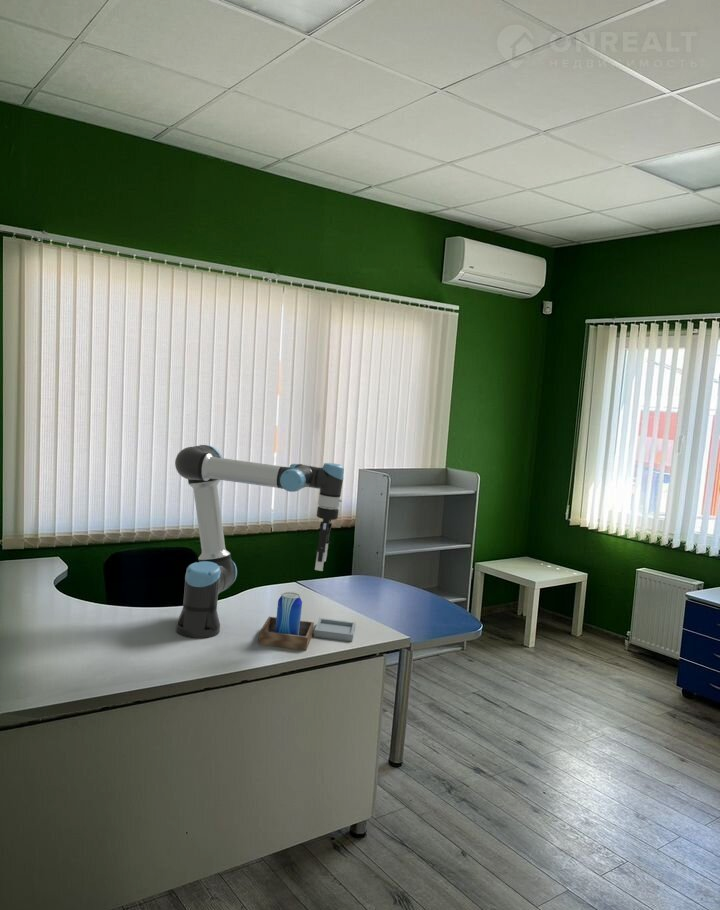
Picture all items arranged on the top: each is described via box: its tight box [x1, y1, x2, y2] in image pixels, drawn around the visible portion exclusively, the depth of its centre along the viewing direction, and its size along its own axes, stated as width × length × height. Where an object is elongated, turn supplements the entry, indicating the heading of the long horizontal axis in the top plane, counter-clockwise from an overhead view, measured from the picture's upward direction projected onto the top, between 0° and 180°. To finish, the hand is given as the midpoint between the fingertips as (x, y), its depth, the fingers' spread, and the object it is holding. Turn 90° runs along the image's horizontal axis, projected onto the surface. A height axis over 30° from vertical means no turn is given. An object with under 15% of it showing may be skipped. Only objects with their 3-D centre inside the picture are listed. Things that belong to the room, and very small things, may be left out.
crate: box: [258, 616, 315, 651], centre depth 254 cm, size 17×17×4 cm
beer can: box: [274, 591, 303, 636], centre depth 253 cm, size 8×8×16 cm
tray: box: [313, 617, 357, 643], centre depth 266 cm, size 14×14×2 cm
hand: (320, 565), depth 256 cm, fingers open, 13 cm apart
